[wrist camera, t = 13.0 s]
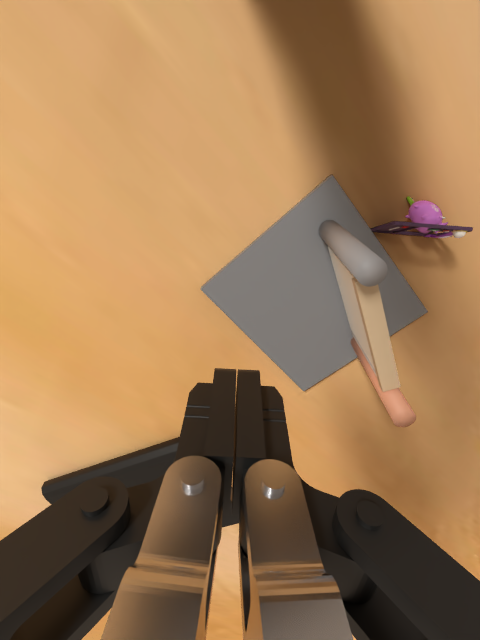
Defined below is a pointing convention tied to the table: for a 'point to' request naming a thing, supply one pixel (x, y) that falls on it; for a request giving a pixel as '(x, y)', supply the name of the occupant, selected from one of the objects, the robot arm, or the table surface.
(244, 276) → the board
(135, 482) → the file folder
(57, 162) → the table surface
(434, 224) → the purple decorated picture frame
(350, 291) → the panel
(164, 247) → the table surface
